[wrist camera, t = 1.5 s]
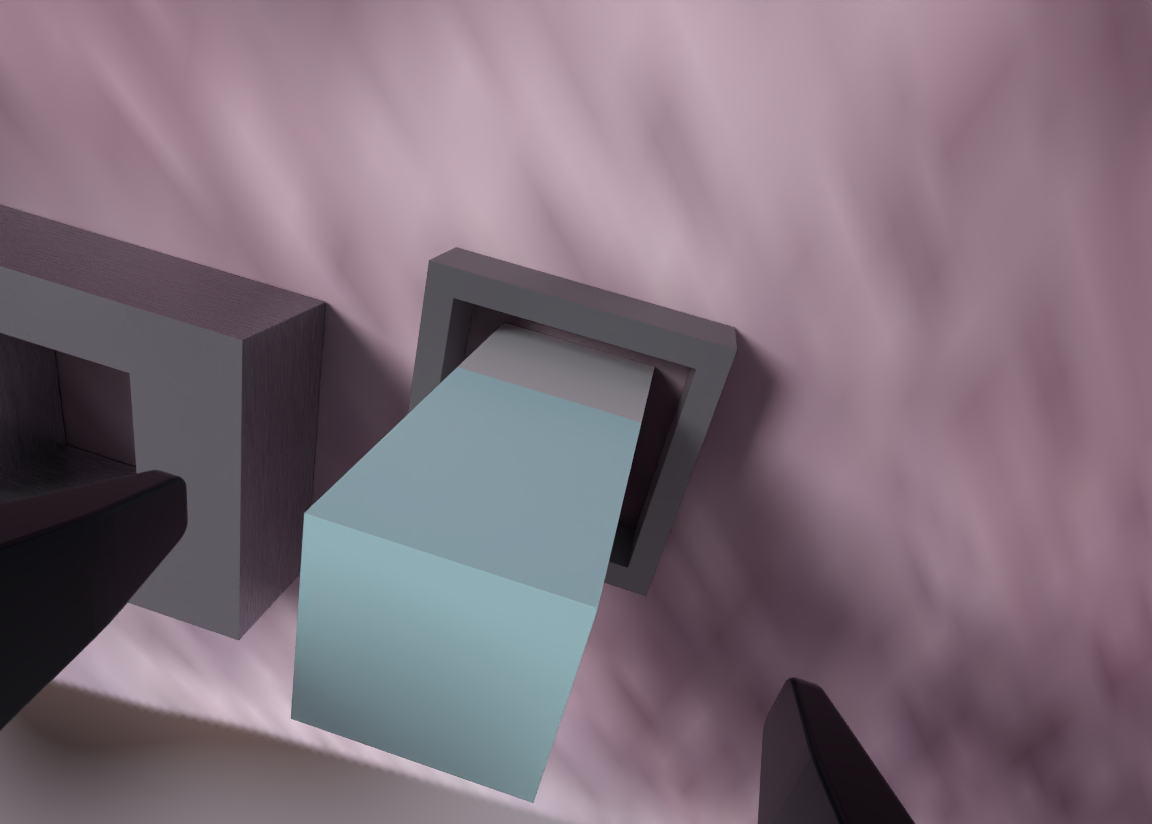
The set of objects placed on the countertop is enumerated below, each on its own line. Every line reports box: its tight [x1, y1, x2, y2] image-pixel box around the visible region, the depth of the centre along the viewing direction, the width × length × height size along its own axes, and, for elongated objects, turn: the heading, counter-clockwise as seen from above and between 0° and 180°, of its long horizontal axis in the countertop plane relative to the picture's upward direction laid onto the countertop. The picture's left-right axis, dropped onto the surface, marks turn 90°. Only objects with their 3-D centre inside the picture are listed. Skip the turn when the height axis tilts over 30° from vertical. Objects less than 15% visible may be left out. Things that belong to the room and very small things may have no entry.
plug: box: [291, 323, 654, 803], centre depth 12 cm, size 4×4×8 cm
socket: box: [0, 205, 325, 640], centre depth 16 cm, size 10×8×3 cm
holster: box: [408, 248, 737, 596], centre depth 15 cm, size 6×6×2 cm
